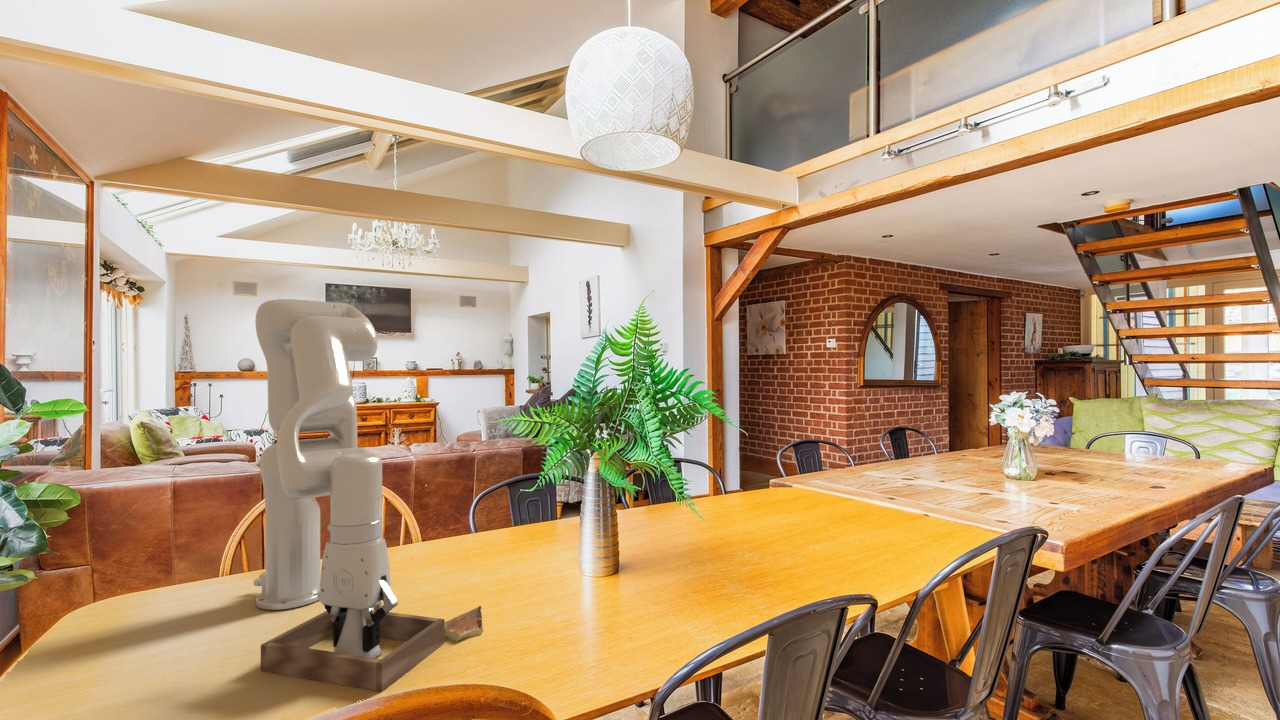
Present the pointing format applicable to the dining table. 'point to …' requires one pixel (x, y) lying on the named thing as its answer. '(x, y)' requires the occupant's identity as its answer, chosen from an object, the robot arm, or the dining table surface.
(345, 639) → the flask
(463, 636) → the shard
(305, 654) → the brown wooden frame
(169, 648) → the dining table surface
